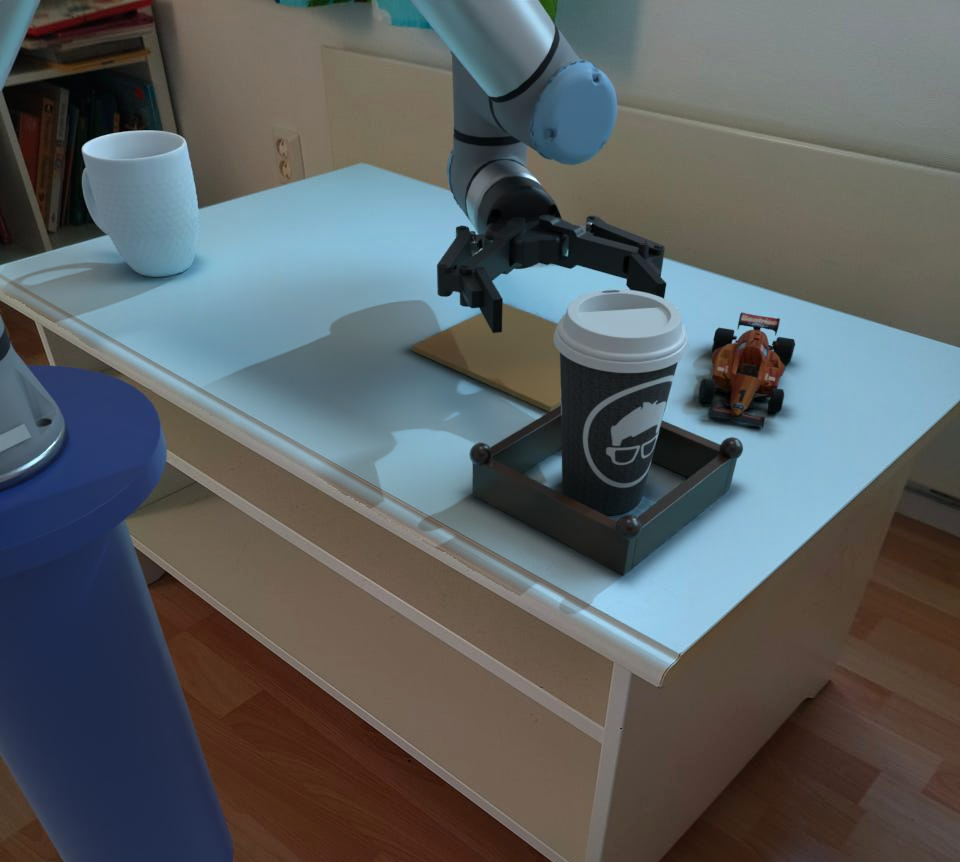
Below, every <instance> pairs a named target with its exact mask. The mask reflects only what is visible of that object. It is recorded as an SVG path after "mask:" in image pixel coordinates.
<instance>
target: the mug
mask: <svg viewBox="0 0 960 862" xmlns="http://www.w3.org/2000/svg"><path fill="white" fill-rule="evenodd" d="M81 154H82V158H83V162H84V166H85V167H84V169H83V170H82V175H81V188H82V194H83V198H84V202H85V205H86V208H87V210H88V213H89V216H90V217H91V219H92V220H93V223H95V225H96V226H97V227H98V228H99V229H100V230H101V232H102V233H104V234H105V235H107V236H108V237H109V238H110V240H111V242H112V244H113V246H114V247H115V250H117V252H118V254H119V256H120V257H122V259H123V261H124V262H125V263H126V264H127V265H128V266H129V267H130V268H131V269H132V270H133V271H134V272H136V273H137V274H139V275H141V276H145V277H152V278H160V277H161V278H162V277H169V276H173V275H178V274H180V273H183V272H185V271H186V270H189V268H190V267H191V266H192V264H193V262H194V259H195V257H196V253H197V250H198V243H199V235H200V214H199V212H200V209H199V202H198V195H197V188H196V182H195V179H194V173H193V168H192V162H191V159H190V154H189V148H188V144H187V141H186V139H185V138H184V137H183V136H181V135H180V134H177V133H174V132H170V131H163V130H153V129H152V130H147V129H146V130H145V129H144V130H128V131H121V132H113V133H108V134H105V135H101V136H98V137H95V138H93V139H90V140H88V141H87V142H85V143H84V144H83V145H82V147H81Z"/></svg>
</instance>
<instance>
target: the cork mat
mask: <svg viewBox="0 0 960 862" xmlns="http://www.w3.org/2000/svg"><path fill="white" fill-rule="evenodd" d="M557 325H558V323H556V322H554V321H551V320H548V319H546V318H543V317H541V316H538V315H536V314H533V313H530V312H527V311H526V310H522V309H520V308H518V307H515V306H512V305H510V304H507V303H504V302H503V305H502V332H499V333H493V332H492V331H491V329H490V327H489V325H488V323H487V321H486V319H485V318H484V316H483V314H482V312H480V313H478V314H476V315H473V316H472V317H470V318H468V319H465V320H463V321H462V322H459V323H457V324H455V325H453V326H451V327H448V328H447V329H444V330H442V331H439V332H438V333H435V334H433V335H431V336H429V337H427V338H425V339H422V340H421V341H419V342H417V343H415V344H412V346H411V351H412V352H413V353H416V354H418V355H421V356H423V357H425V358H426V359H430V360H432V361H434V362H436V363H437V364H441V365H443V366H445V367H447V368H450V369H452V370H454V371H456V372H459V373H461V374H463V375H465V376H468V377H470V378H471V379H475V380H477V381H479V382H481V383H484V384H486V385H488V386H489V387H492V388H495V389H496V390H499V391H501V392H503V393H506V394H508V395H511V396H512V397H515V398H517V399H519V400H521V401H524V402H526V403H528V404H530V405H532V406H535V407H537V408H539V409H541V410H544V411H546V412H547V413H549V412H550V411H552V410H554V409H555V408H557V407H559V406H560V405H561V376H560V352H559V350H558V349H557V348H556V346H555V344H554V340H553V337H554V333H555V330H556V327H557Z"/></svg>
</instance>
